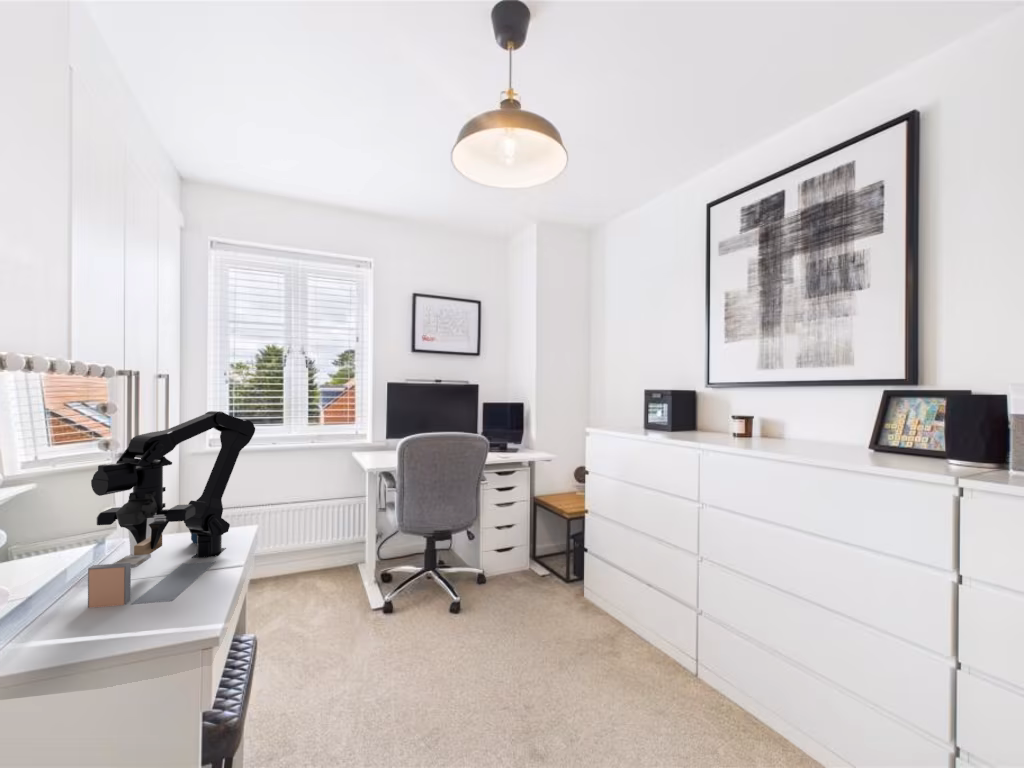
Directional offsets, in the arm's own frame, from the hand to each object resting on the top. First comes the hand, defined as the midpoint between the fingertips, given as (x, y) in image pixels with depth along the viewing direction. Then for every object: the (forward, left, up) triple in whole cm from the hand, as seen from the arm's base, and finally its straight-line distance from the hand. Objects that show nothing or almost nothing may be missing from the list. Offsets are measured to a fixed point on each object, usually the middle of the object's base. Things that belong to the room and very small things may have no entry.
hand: (147, 549), depth 111 cm
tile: (+14, 0, -7) cm, 16 cm away
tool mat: (+4, +9, -7) cm, 12 cm away
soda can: (-26, +2, -8) cm, 27 cm away
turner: (+2, 0, -1) cm, 2 cm away
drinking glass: (-19, -11, -8) cm, 23 cm away
